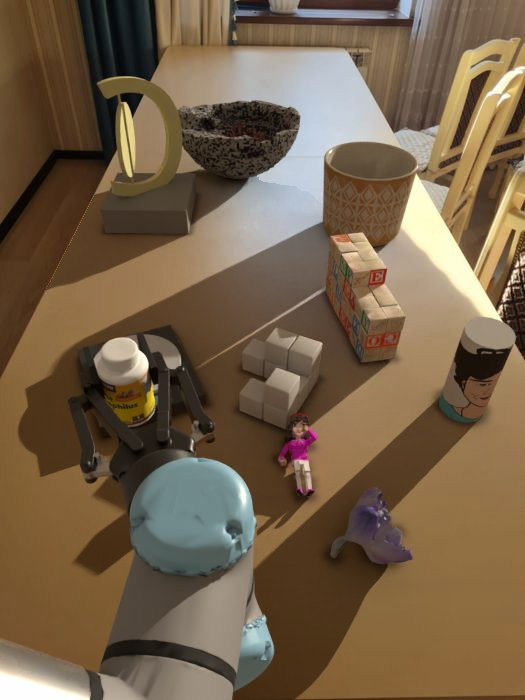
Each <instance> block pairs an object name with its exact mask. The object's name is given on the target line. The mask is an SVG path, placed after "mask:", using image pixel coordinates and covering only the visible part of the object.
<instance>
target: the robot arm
mask: <svg viewBox="0 0 525 700" xmlns="http://www.w3.org/2000/svg"><path fill="white" fill-rule="evenodd" d="M143 332H144V331H140V332H137V333H135V334H137V339H138V345H139V350H140V351H141V352H142V353H143V354H144V355H145V356H146V358H147V360H148V364H149V370H150V376H151V380H152V383H153V385H156V384H158V412H157V421H154V422H151V423H148V424H146V426H143V427H142V426H141V427H135V428H132V429H130V428H129V427H128V425H127V424H126V423H125V422H122V421H121V419H120V418H119V417H118V416H117V415H116V413H115V412H114V411H113V410H112V408H111V407H110V406H109V405H108V404H107V402H106V401H105V400H104V399H105V397H104V393H103V390H102V386H101V382H100V379H99V376H98V372H97V369H96V366H95V362H94V359H93V356H92V352H91V349H90V346H91V345H86V346H83V347H82V348H83V349H84V353H85V356H86V360H87V363H88V367H89V370H88V371H84V372H83V371H81V372H80V373H79V379H80V382H81V386H82V391H83V392H82V393H81V394H80V395H79V396H78V395H73V396H71V397H69V398H68V399H67V403H68V408H69V411H70V413H71V414H70V415H71V417H72V420H73V424H74V427H75V431H76V434H77V438H78V440H79V442H80V447H81V456H80V461H79V468H80V471H81V473H82V476H83V478H84V481H85V482H86V484H90V485H92V484H94V483H97V481H98V479H99V478H105V477H106V478H108V477H111V478H112V479H113V480H114V481H115V482H116V483H117V484H118V485H119V487H120V492H121V494H122V499H123V503H124V505H125V509H126V513H127V516H128V519H129V524H130V526H129V534H130V537H129V539H130V543H131V544H132V546H131V548H132V549H133V551H134V553H133V558H132V562H131V565H130V568H129V571H128V575H127V578H126V581H125V585H124V588H123V590H122V591H123V592H122V594H121V597H120V601H119V604H118V606H117V611H116V613H115V618H114V620H113V624H112V626H111V630H110V634H109V637H108V640H107V644H106V645H105V649H104V652H103V654H102V655H103V656H102V659H101V661H100V666H99V670H98V672H96V671H94V670H93V671H92V670H89V669H86V668H85V667H84V666H82V665H80V664H76V663H74V662H71V661H68V660H66V659H62V658H60V657H57V656H53V655H51V654H48V653H45V652H42V651H40V650H37V649H35V648H32V647H29V646H25V645H22V644H19V643H17V642H13V641H11V640H8V639H5V638H2V637H0V700H233V696H234V695H233V694H234V692H236V691H237V690H240V689H241V688H243V687H245V686H247V685H248V684H249V683H251V682H252V681H254V680H255V679H256V678H258V677H260V675H262V674H263V672H265V670H267V668H268V667H269V666H270V665H271V662H272V660H273V659H274V655H275V646H274V642H273V640H272V637H271V634H270V631H269V628H268V626H267V617H266V615H265V614H263V613H262V611H261V608H260V606H259V604H258V601H257V598H256V594H255V575H254V555H255V552H254V551H255V550H254V549H255V532H256V531H257V527H258V523H257V517H255V512H254V507H253V499H252V494H251V493H250V490H249V488H248V485H247V484H246V482H245V481H244V479H243V478H242V477H241V475H240V474H239V473H238V472H237V471H236V470H234V469H233V468H231V467H230V466H228V465H227V464H225V463H223V462H221V461H218V460H215V459H212V458H205V457H196V454H197V448H198V447H200V446H201V445H203V444H204V443H206V444H214V443H215V442H216V440H217V437H216V436H217V435H216V423H215V421H214V420H213V419H212V418H211V417H210V416H209V415H208V414H207V413H206V412H205V411H204V408H203V406H201V404H200V401H199V399H198V396H197V394H196V391H195V389H194V386H193V384H192V381H191V379H190V376H189V374H188V371H187V369H186V367H185V366H178V367H177V368H176V369H170V368H168V367H167V365H166V363H165V360H164V358H163V356H162V354H161V353H160V352H159V351H157V352H153V353H151V351H150V348H149V346H148V344H147V341H146V339H145V337H144V334H143ZM172 385H178V388H179V390H180V393H181V396H182V398H183V401H184V404H185V406H186V409H187V411H186V412H187V415H188V417H189V420H190V423H191V426H190V429H191V434H188V433H186V432H184V431H181V430H179V429H178V428H176V427H173V423H172V422H173V420H172V419H173V417H172V402H171V389H172ZM89 411H90V412H91V414H93V415H94V417H95V418H96V420H97V419H98V420H99V422H100V423H101V424H102V426H103V427H104V428H105V429H106V431H107V432H108V433H109V434H110V436H109V437H111V438H112V440H113V441H114V442H115V443H116V445H117V448H116V450H115V452H114V454H113V456H112V457H111V459H110V461H107V460H106V459H105V456H104V454H101V453H100V452H98V451H97V448H96V445H95V441H94V439H93V436H92V432H91V430H90V427H89V426H90V425H89V423H88V421H87V417H86V414H85V413H87V412H89ZM98 420H97V421H98Z"/></svg>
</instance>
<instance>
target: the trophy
mask: <svg viewBox="0 0 525 700" xmlns="http://www.w3.org/2000/svg"><path fill="white" fill-rule="evenodd" d="M96 86H97V87H98V89H99V90H100V92H101V94H102V96H103V97H104V98H105V99H107V100H109V99H110V98H113V97H115V96H117V100H118V101H117V102H118V104H117V107H116V112H115V140H116V141H115V142H116V143H115V144H116V153H117V158H118V163H119V167H120V170H121V172H117V173H116V175H115V177H114V179H113V180H110V187H109V190H108V192H107V195H106V197H105V199H104V201H103V203H102V204H101V205H102V206H101V207H100V209H99V211H100V215H101V220H102V225H103V230H104V233H105V234H169V235H170V234H171V235H172V234H173V235H174V234H178V235H179V234H180V235H185V234H187V235H188V234H190V229H191V223H192V220H193V214H194V209H195V203H196V198H197V187H196V174H195V173H183V172H182V173H177V172H178V169H179V166H180V163H181V158H182V153H183V146H182V127H181V121H180V117H179V114H178V111H177V110H178V108H177V106H176V104H175V102H174V101H173V99H172V98H171V96H170V95H169V94H168V93H167V92H166V90H164V89H163V88H161V86H159V85H157V84H155V82H151V81H149V80H147V79H144V78H140V77H138V76H137V77H136V76H123V75H122V76H113V77H107V78H105V79H102V80H100V81H98V82H96ZM127 93H134V94H140V95H144V96H146V97H147V98H148V99H150V100H151V101H152V102H153V103H154V104H155V106H156V108H157V109H158V111H159V113H160V115H161V117H162V120H163V121H162V122H163V125H164V129H165V130H164V131H165V151H164V156H163V160H162V163H161V165H160V167H159V169H158V170H157V171H156V172H135V169H136V168H135V167H136V138H135V127H134V121H133V117H132V113H131V109H130V106H129V104H128V103H127V102H126V101H122V100H121V99H122V98H121V95H122V94H127Z"/></svg>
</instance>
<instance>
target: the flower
mask: <svg viewBox="0 0 525 700" xmlns="http://www.w3.org/2000/svg"><path fill="white" fill-rule="evenodd" d="M383 496H384V492H382V491H381V488H377V486H373V487H371V488H369V489H366V490H365V491H364V492H363V493H362V494H361V496H360V497H359V499H358V500H357V501H356V503H355V506H354V507H353V508H352V510H351V511H350V512H349V516H348V517H349V519H348V524H347V530H346V532H345V535H341V536H339V537H337V538H336V539H335V540H334V541H333V543H332V544H331V549H330V552H329V556H330V557H331V558H333V559H337V557H338V555H339V553H340V552H341V551H343V550H344V549H345V548H346V546H347V545H348V544H349V543H351V542H352V543H355V544H357V545H360V546H361V547H362V549H363V550H364V552H365V555H366V556H367V558H368V559H369V560H370V561H371V562H372V563H374V564H376V565H377V564H378V565H379V564H380V565H387V564H390V563H395V564H396V563H397V564H400V563H405V562H409V561H412V560H413V559H414V557H413V553H412V549H411V547H408V548H407V549H406V547H405V546H402V540H403V534H404V533H403V530H400V529H399V528H398V526H396V525H394V526H393V525H392V524H389V523H390V522H391V521H392V519H393V516H392V515H390V514H389V511H388V509H386V505H387V503H388V502H387V501H386V500H382V499H383Z"/></svg>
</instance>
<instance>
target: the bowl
mask: <svg viewBox="0 0 525 700" xmlns="http://www.w3.org/2000/svg"><path fill="white" fill-rule="evenodd" d="M177 111H178V114H179V117H180V121H181V127H182V149H184V150H185V151H184V152H186V154H188V156H189V157H190V158H191V159H192V160H193V161H194V162H195V164H197V165H198V166H200V168H203V169H204V170H205V171H207V172H210V173H212V174H215V175H217V176H220V177H223V178H228V179H236V180H241V179H243V180H244V179H249V178H254V177H256V176H259V175H261V174H263V173H266V172H268V171H269V170H271V169H273V168H275V166H276V165H277V164H279V163H280V162H281V161H282V160H283V159H284V158H285V157H286V156H287V154H288V153H289V152H290V150H291V149H292V146H293V145H294V143H295V142H296V140H297V137H298V134H299V131H300V128H301V114H300V112H299V110H297V109H296V108H295V107H293V106H288V107H287V106H283V105H279V104H276V103H274V102H273V103H272V102H269V101H265V100H257V99H254V100H251V101H247V100H236V101H232V102H222V103H221V102H219V103H214V104H200V105H197V106H193V107H191V106H187V105H183V106H180V107H179V108H177Z"/></svg>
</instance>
